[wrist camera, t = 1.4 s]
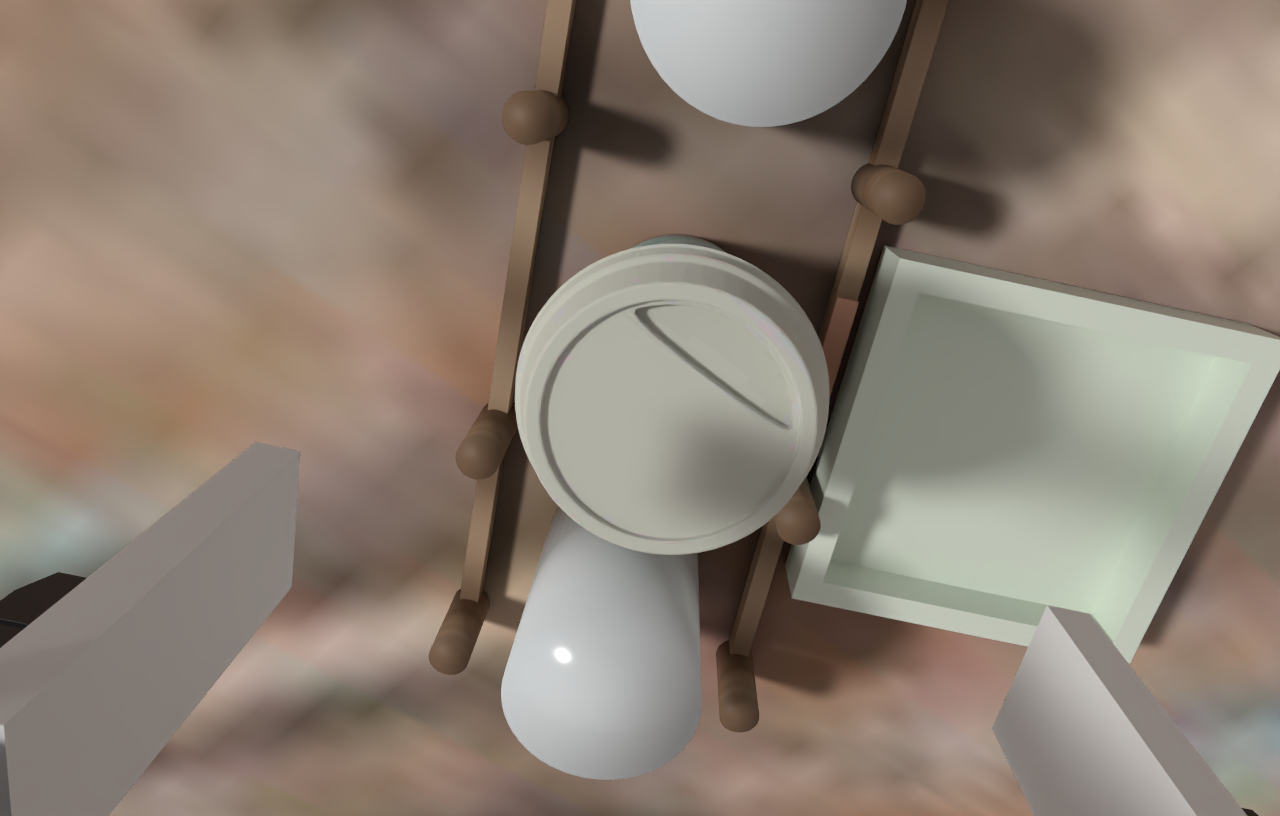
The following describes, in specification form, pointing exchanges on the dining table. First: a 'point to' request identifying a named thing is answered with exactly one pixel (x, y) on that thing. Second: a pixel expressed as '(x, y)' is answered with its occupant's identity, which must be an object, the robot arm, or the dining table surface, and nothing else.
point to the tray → (1022, 450)
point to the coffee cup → (672, 397)
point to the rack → (877, 198)
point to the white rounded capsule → (605, 657)
